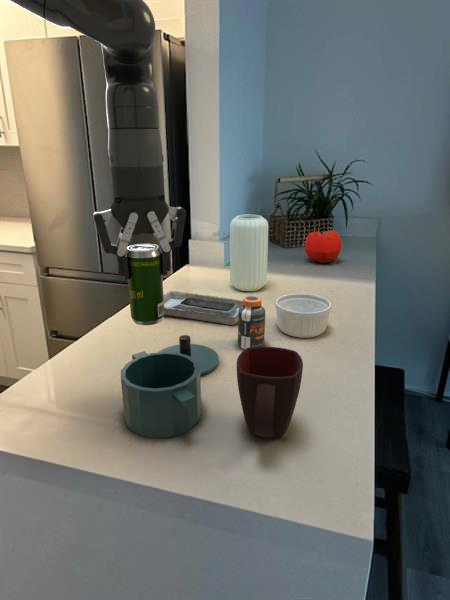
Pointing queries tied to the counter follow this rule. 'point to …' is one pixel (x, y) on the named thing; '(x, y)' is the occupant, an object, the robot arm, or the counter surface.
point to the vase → (248, 252)
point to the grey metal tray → (177, 308)
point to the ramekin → (302, 314)
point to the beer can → (145, 284)
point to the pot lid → (195, 353)
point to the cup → (268, 389)
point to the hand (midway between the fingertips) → (144, 275)
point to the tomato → (323, 246)
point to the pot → (161, 394)
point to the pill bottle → (251, 323)
